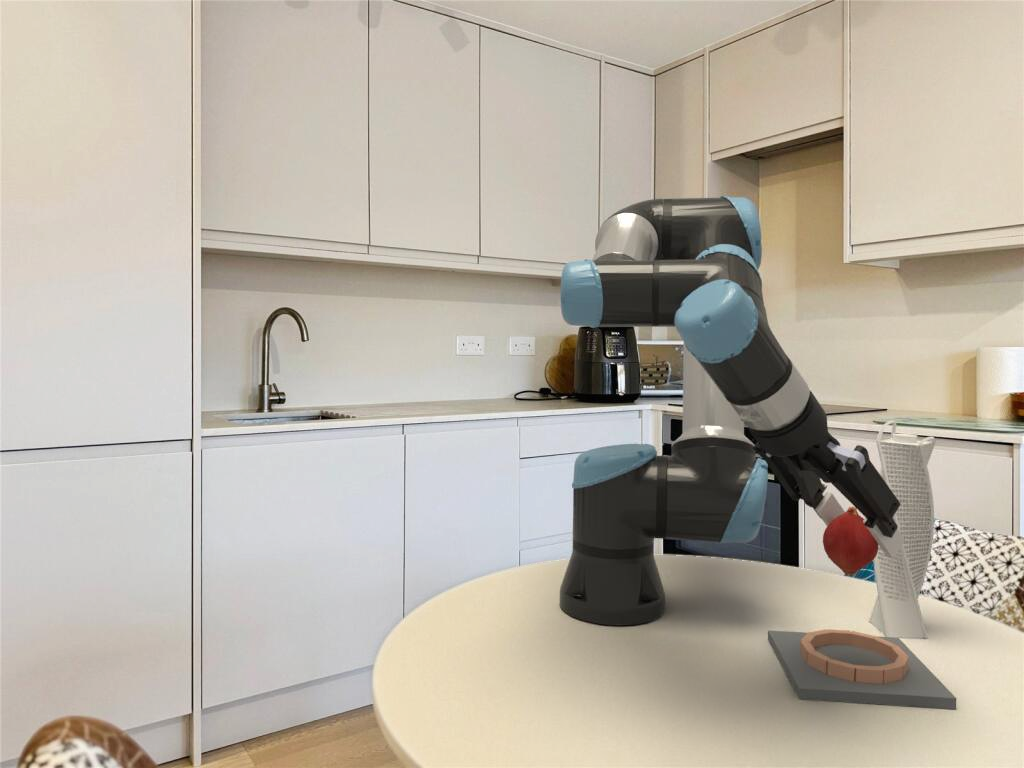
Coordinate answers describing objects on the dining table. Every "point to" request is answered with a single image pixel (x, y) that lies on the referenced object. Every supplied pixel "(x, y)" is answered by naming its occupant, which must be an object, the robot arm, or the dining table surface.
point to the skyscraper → (905, 535)
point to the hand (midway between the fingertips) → (870, 541)
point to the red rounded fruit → (849, 542)
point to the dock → (857, 669)
